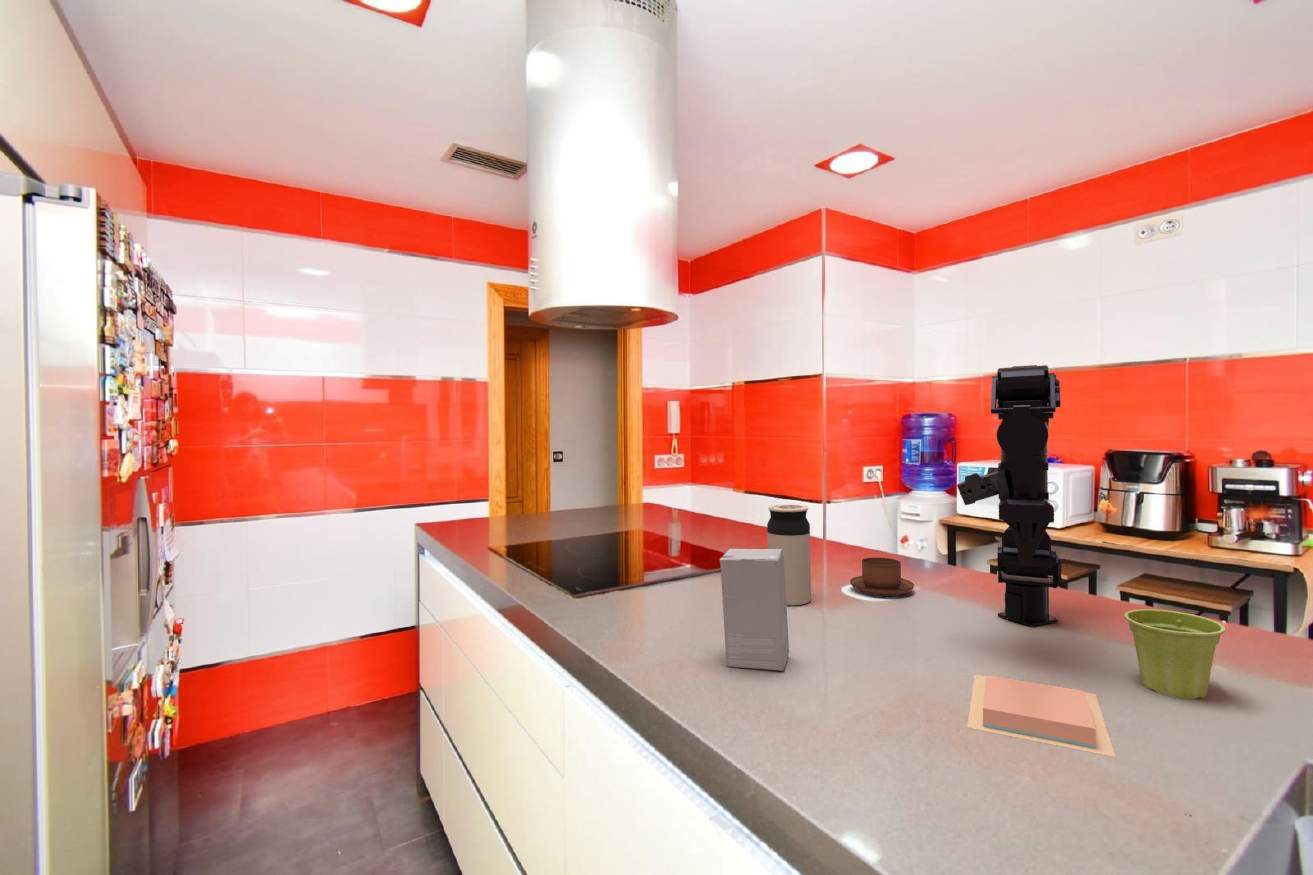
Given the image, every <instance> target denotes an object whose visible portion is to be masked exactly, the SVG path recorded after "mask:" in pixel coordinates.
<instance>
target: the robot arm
mask: <svg viewBox="0 0 1313 875" xmlns="http://www.w3.org/2000/svg"><path fill="white" fill-rule="evenodd" d="M996 373H997V374H996V375H993V376H991V392H990V393H991V394H990V400H991V401H990V414H991V415H998V416H997V417H998V420H1001V422H1000V423H999V426H998V428H997V430H996V441H997V443H998V445H999V447H1000V462H998V465H997V466H998V467H997V468H998V469H997V471H994V472H991V473H987V474H983V475H981V476H980V475H979V473H977V472H974V473H973V474H972V473H971V474H969V475H965V476H964V481H961V482H958V483H957V484H956V487H957V489H958V493H959V495H960V496H961V499H962V501H963V504H964V505H965V506H968V505H974V504H975V503H976V502H978V501H982V500H986V499H988V498H992V497H996V496H998V499H999V503H998V520H999V521H1003V522H1004V523H1005V524H1006V525H1008V527H1007V528H1006V529H1005V531H1004V532H1003V534H1002V535H1001V546H997V559H996V560H997V582H998V584H999V583H1000V584H1002V583H1005V592H1004V611H1002V612H998V613H997V616H998V617H1001V618H1002V619H1006V620H1009V621H1012V622H1016V623H1020V624H1023V625H1026V626H1028V627H1037V626H1042V625H1047V624H1052V623H1057V622H1059V618H1058V617H1054V616H1051V615H1050V590H1049V588H1052V589H1058V588H1060V587H1061V588H1062V568H1063V567H1062V564H1063V562H1062V559H1061V558H1060V557H1059V555H1058V554H1057V550H1052V538H1051V537H1050V535H1049V534H1048V532H1047V529H1048V527H1049V524H1052V523H1055V507H1054V506H1053V504H1052V503H1051V502H1049V500H1050V493H1049V488H1048V487H1049V485H1048V483H1049V482H1048V481H1049V480H1048V477H1049V475H1048V471H1049V462H1048V440H1049V428H1050V427H1049V426H1050V425H1049V424H1050V419H1053V420H1054V413H1057V412H1056V410H1057V409H1056V408H1061V384H1060V380H1059V379H1058V378H1057V374H1055V372H1049V366H1048V365H1047V364H1046V365H1044V364H1043V365H1037V364H1031V365H1030V364H1029V365H1018V366H1017V365H1015V366H1011V367H998V368H997V372H996Z"/></svg>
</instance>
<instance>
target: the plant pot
mask: <svg viewBox="0 0 1313 875" xmlns="http://www.w3.org/2000/svg"><path fill="white" fill-rule="evenodd" d="M1124 619H1125V620H1126V621H1127V622H1128V623H1129V625H1128V626H1129V629H1130V631H1131V633H1132V635H1133V640H1134V646H1135V647H1134V648H1135V651H1136V652H1135V653H1136V659H1137V663H1138V669H1139V674H1140V680H1141V684H1142V685H1143V686H1144V688H1146V689H1148V690H1153V691H1155V692H1157V693H1158V694H1160V695H1164V696H1168V697H1173V698H1179V699H1186V700H1196V699H1198V698H1201V699H1205V698H1206V697H1207V694H1208V689H1209V684H1210V679H1211V671H1212V666H1213V661H1214V658H1215V657H1214V656H1215V652H1216V647H1217V645H1218V644H1219V643H1220V639H1221V636H1222V635H1223V634H1225V633H1226V627H1225V626H1224V625H1223V624H1222V623H1220V622H1218V621H1216V620H1213V619H1210V618H1207V617H1203V616H1200V615H1195V614H1192V613H1187V612H1179V611H1174V610H1164V609H1153V608H1152V609H1147V608H1145V609H1144V608H1141V609H1132V610H1129V611H1126V612H1125V613H1124Z"/></svg>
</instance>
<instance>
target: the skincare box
mask: <svg viewBox="0 0 1313 875" xmlns="http://www.w3.org/2000/svg"><path fill="white" fill-rule="evenodd" d="M719 564H720V581H721V593H722V596H721V597H722V608H723V609H722V612H723V628H724V629H723V630H724V631H723V632H724V648H725V659H726V663H725V664H726V667H729V668H742V669H743V668H744V669H753V670H754V669H758V670H771V671H784V670H785V667H786V664H787V660H788V657H789V653H790V643H789V641H790V640H789V627H788V626H789V625H788V609H787V606H786V589H785V573H784V557H783V549H768V548H765V549H763V548H762V549H761V548H729V549H728V550H727V551H726V552H725V553H724V554H723V555H722V557H720V558H719Z"/></svg>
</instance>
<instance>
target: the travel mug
mask: <svg viewBox="0 0 1313 875" xmlns="http://www.w3.org/2000/svg"><path fill="white" fill-rule="evenodd" d="M767 509H768V510H769V513H770V515H769V516H770V518H769V519H768V522H767V523H766V525H767V526H766V529H767V530H766V531H767V534H766V536H767V549H783V557H784V573H785V589H786V606H789V607H790V606H791V607H795V606H803V605H806V604H808V603H810V602H811V601H812V574H811V573H812V570H811V566H812V565H811V564H812V563H811V524H810V522H809V520H808V518H807V512H808V511H809V507H808V506H806V505H801V504H776V505H775V504H774V505H770V506H768V508H767Z"/></svg>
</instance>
